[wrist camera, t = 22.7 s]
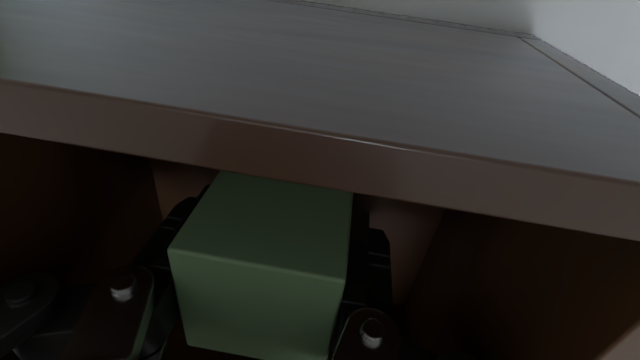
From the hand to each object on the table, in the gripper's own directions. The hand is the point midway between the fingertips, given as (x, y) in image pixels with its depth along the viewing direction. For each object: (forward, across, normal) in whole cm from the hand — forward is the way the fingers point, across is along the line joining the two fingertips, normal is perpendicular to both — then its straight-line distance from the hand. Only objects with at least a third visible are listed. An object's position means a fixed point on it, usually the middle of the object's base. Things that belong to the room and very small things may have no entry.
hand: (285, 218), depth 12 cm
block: (0, 0, 0) cm, 0 cm away
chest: (+2, 0, 0) cm, 2 cm away
